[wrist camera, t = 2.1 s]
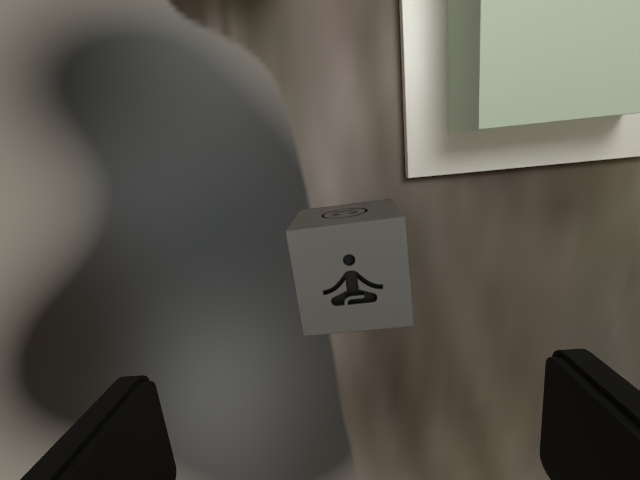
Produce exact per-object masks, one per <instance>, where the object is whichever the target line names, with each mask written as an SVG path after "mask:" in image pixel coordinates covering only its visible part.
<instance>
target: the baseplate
mask: <svg viewBox="0 0 640 480" xmlns="http://www.w3.org/2000/svg"><path fill="white" fill-rule="evenodd" d="M399 9H400V36H401V63H402V90H403V117H404V145H405V172H406V177H407V178H414V177H425V176H436V175H446V174H457V173H467V172H478V171H489V170H499V169H510V168H520V167H531V166H541V165H552V164H563V163H573V162H584V161H594V160H605V159H616V158H626V157H637V156H640V113H635V114H626V115H617V116H607V117H598V118H588V119H579V120H569V121H560V122H550V123H541V124H531V125H522V126H512V127H503V128H493V129H484V130H474V131H465V132H455V133H448V5H447V0H399Z"/></svg>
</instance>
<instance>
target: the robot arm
mask: <svg viewBox="0 0 640 480" xmlns="http://www.w3.org/2000/svg"><path fill="white" fill-rule="evenodd" d="M540 458H541V462H542V465H543V467H544V469H545V471H546V473H547V474H548V476H549V478H550V479H551V480H640V391H639V390H638V389H637V388H635V387H634V386H633V385H631V384H630V383H629V382H628V381H626V380H625V379H624V378H623V377H621V376H620V375H619V374H617V373H616V372H615V371H614V370H612V369H611V368H610V367H609V366H607V365H606V364H605V363H603V362H602V361H601V360H600V359H598V358H597V357H596V356H595V355H593V354H592V353H591V352H589V351H588V350H586V349H570V350H557V351H555V352H554V353H553V356H552V357H550V358H548V359H547V360H546V367H545V382H544V397H543V412H542V427H541V442H540ZM175 479H176V465H175V462H174V457H173V453H172V449H171V445H170V441H169V437H168V433H167V429H166V425H165V421H164V417H163V413H162V409H161V405H160V401H159V397H158V393H157V389H156V385H155V383H154V382H152V381H149V378H147V376H144V375H143V376H126V377H120V378H119V379H117V380H116V381H115V382H114V383H113V384H112V385H111V386H110V387H109V388H108V389H107V390H106V392H104V394H103V395H102V396H101V397H100V398H99V399H98V400H97V401H96V402H95V403H94V404H93V405H92V406H91V407H90V408H89V409H88V410H87V411H86V412H85V413H84V414H83V415H82V416H81V417H80V418H79V419H78V420H77V422H76V423H75V424H74V425H73V426H72V427H71V428H70V429H69V430H68V431H67V432H66V433H65V434H64V435H63V436H62V437H61V438H60V439H59V440H58V441H57V442H56V443H55V444H54V445H53V446H52V447H51V448H50V449H49V450H48V452H47V453H46V454H45V455H44V456H43V457H42V458H41V459H40V460H39V461H38V462H37V463H36V464H35V465H34V466H33V467H32V468H31V469H30V470H29V471H28V472H27V473H26V474H25V475H24V476H23V477H22V479H20V480H175Z"/></svg>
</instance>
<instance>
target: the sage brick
mask: <svg viewBox="0 0 640 480" xmlns="http://www.w3.org/2000/svg"><path fill="white" fill-rule="evenodd" d="M447 5H448V133H455V132H465V131H474V130H484V129H493V128H503V127H512V126H522V125H531V124H541V123H550V122H560V121H569V120H579V119H588V118H598V117H607V116H617V115H626V114H635V113H640V0H447Z"/></svg>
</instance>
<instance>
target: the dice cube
mask: <svg viewBox="0 0 640 480" xmlns="http://www.w3.org/2000/svg"><path fill="white" fill-rule="evenodd" d="M286 236H287V241H288V248H289V253H290V259H291V264H292V270H293V277H294V282H295V288H296V294H297V300H298V306H299V311H300V318H301V323H302V329H303V335H304V336H309V335H320V334H331V333H342V332H353V331H364V330H374V329H385V328H396V327H407V326H414V320H413V307H412V295H411V282H410V270H409V257H408V245H407V232H406V220H405V216H404V214H403V213H402V212H401V211H400V210H399V209H398V208H397V207H396V205H395V204H394V203H393V202H392V201H391V200H390V199H384V200H376V201H369V202H361V203H353V204H345V205H338V206H330V207H322V208H314V209H305V210H300V211H299V213H298V214H297V215H296V217H295V218H294V220H293V221H292V223H291V224H290V226H289V227H288V229H287V230H286Z"/></svg>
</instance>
